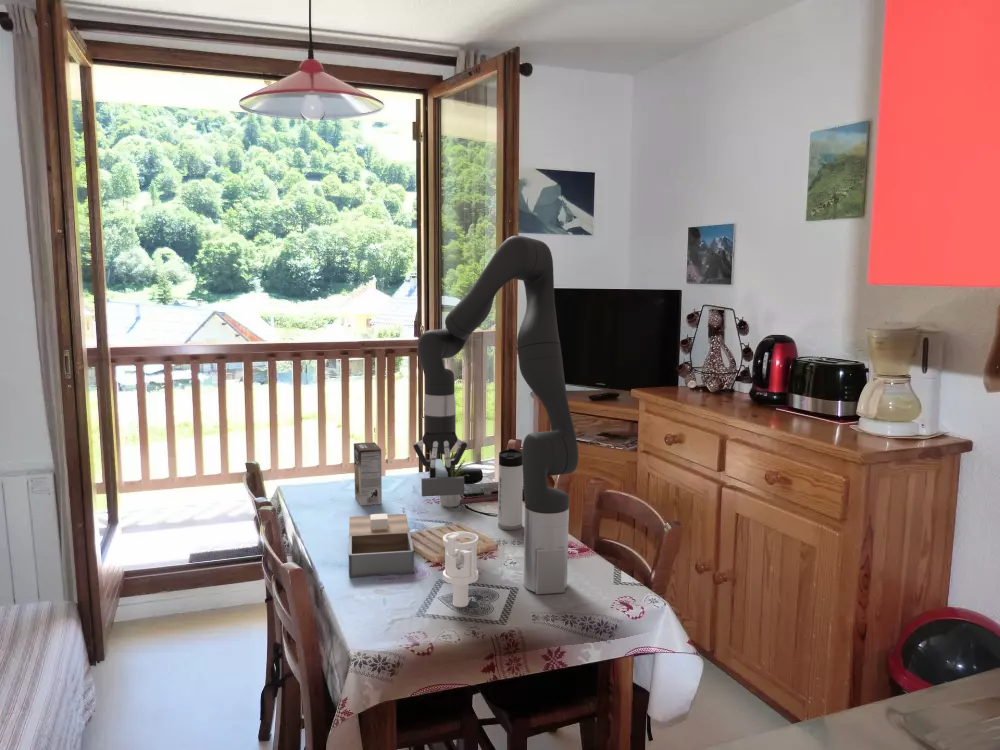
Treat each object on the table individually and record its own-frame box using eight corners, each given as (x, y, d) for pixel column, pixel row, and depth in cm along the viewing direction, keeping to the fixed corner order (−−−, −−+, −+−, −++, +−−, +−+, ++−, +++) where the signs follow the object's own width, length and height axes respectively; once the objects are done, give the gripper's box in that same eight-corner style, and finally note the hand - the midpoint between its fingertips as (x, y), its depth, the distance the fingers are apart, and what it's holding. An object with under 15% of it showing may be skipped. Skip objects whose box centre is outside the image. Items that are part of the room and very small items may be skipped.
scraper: (464, 494, 182) (464, 473, 181) (422, 496, 180) (421, 475, 179) (455, 477, 197) (455, 458, 196) (416, 479, 195) (416, 460, 194)
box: (414, 573, 169) (413, 551, 168) (349, 577, 166) (348, 555, 166) (410, 553, 181) (410, 532, 180) (349, 556, 178) (349, 536, 177)
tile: (387, 528, 182) (387, 518, 182) (370, 529, 182) (370, 519, 181) (387, 523, 186) (386, 513, 186) (370, 524, 185) (370, 514, 185)
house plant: (414, 499, 222) (414, 444, 220) (458, 493, 228) (458, 439, 226) (433, 513, 210) (433, 455, 207) (479, 506, 216) (479, 450, 214)
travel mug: (522, 522, 203) (523, 448, 200) (521, 530, 197) (522, 454, 194) (499, 521, 204) (500, 447, 201) (496, 529, 197) (497, 453, 194)
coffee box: (354, 497, 224) (353, 443, 222) (375, 495, 226) (375, 441, 224) (359, 506, 215) (358, 450, 213) (382, 504, 218) (381, 448, 215)
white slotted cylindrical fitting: (435, 605, 153) (435, 533, 151) (457, 593, 159) (457, 523, 157) (464, 614, 149) (464, 540, 147) (485, 601, 155) (485, 530, 153)
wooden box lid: (410, 553, 181) (410, 532, 180) (349, 556, 178) (349, 536, 177) (406, 533, 194) (406, 513, 193) (349, 536, 192) (349, 516, 191)
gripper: (412, 415, 180) (412, 487, 182) (470, 414, 182) (470, 485, 185) (409, 410, 187) (410, 479, 190) (466, 408, 190) (466, 476, 192)
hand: (440, 481), depth 187 cm, fingers closed on scraper, 2 cm apart
